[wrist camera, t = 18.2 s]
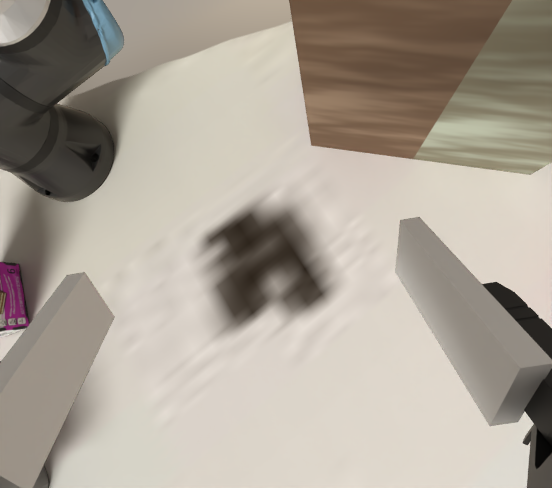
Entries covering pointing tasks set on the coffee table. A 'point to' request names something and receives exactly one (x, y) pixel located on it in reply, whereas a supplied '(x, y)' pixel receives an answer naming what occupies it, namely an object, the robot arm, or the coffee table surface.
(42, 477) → the coffeepot
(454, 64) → the stand
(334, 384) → the coffee table surface
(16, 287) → the candy bar box
